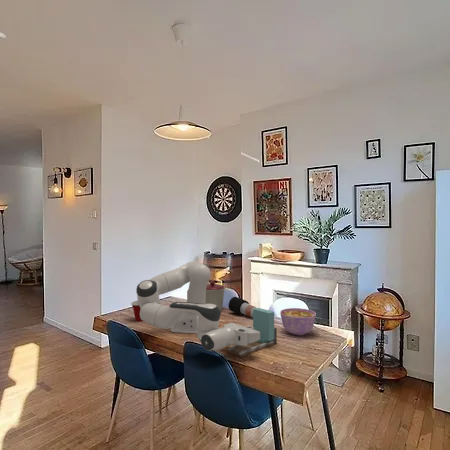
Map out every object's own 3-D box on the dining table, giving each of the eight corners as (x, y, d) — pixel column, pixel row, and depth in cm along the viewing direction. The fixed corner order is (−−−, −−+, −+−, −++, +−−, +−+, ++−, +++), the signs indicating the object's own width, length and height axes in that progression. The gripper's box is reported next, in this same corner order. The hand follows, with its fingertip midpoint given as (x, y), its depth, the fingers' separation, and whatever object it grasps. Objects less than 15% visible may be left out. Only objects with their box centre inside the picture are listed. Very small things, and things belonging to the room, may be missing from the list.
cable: (268, 331, 208) (264, 318, 204) (230, 313, 233) (226, 302, 229) (278, 320, 213) (274, 308, 209) (240, 305, 238) (236, 293, 234)
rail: (240, 357, 157) (240, 340, 157) (227, 351, 163) (227, 335, 163) (276, 343, 174) (276, 328, 174) (263, 339, 181) (263, 324, 181)
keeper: (268, 345, 168) (268, 313, 168) (252, 339, 176) (252, 309, 176) (274, 342, 171) (274, 311, 171) (258, 337, 180) (258, 307, 179)
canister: (216, 306, 250) (216, 278, 249) (230, 311, 235) (230, 281, 234) (195, 309, 239) (194, 280, 239) (208, 315, 224) (208, 284, 224)
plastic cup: (128, 320, 215) (128, 301, 215) (143, 316, 222) (143, 298, 222) (136, 324, 207) (135, 304, 207) (151, 320, 214) (151, 301, 214)
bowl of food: (290, 325, 205) (290, 306, 204) (321, 332, 192) (322, 311, 192) (273, 333, 189) (273, 313, 189) (306, 341, 176) (306, 320, 176)
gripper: (217, 335, 166) (237, 329, 176) (247, 347, 151) (267, 339, 161) (217, 322, 166) (237, 317, 176) (247, 333, 151) (267, 326, 160)
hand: (252, 328), depth 168 cm, fingers closed
